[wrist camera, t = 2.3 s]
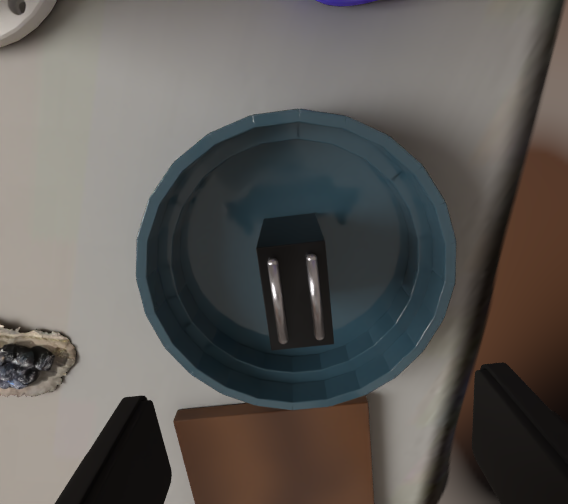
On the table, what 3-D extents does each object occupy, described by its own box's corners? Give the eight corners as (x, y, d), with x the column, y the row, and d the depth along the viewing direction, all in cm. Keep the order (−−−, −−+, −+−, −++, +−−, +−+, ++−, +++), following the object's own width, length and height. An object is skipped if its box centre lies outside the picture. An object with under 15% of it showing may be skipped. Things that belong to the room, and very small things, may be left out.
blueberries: (-54, 321, 25) (-80, 336, 24) (56, 302, 25) (38, 315, 23) (-11, 401, 27) (-32, 420, 26) (91, 384, 27) (77, 402, 25)
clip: (274, 299, 24) (271, 355, 18) (263, 218, 23) (255, 251, 17) (322, 294, 24) (335, 349, 18) (315, 212, 23) (326, 243, 16)
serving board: (219, 571, 33) (216, 587, 32) (177, 409, 28) (172, 421, 26) (375, 559, 33) (378, 575, 31) (364, 391, 27) (368, 402, 26)
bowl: (189, 380, 27) (173, 422, 23) (130, 133, 21) (97, 134, 18) (428, 357, 26) (452, 395, 22) (429, 95, 21) (461, 87, 17)
